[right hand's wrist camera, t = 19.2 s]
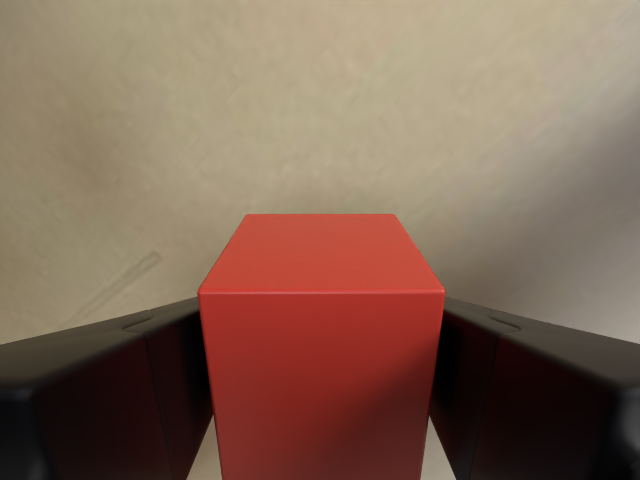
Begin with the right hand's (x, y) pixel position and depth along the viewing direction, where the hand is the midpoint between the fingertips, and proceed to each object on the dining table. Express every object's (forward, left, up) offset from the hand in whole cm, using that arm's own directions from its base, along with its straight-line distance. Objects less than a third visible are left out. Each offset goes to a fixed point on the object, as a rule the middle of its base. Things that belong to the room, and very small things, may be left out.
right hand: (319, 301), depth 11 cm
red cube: (0, 0, -1) cm, 1 cm away
